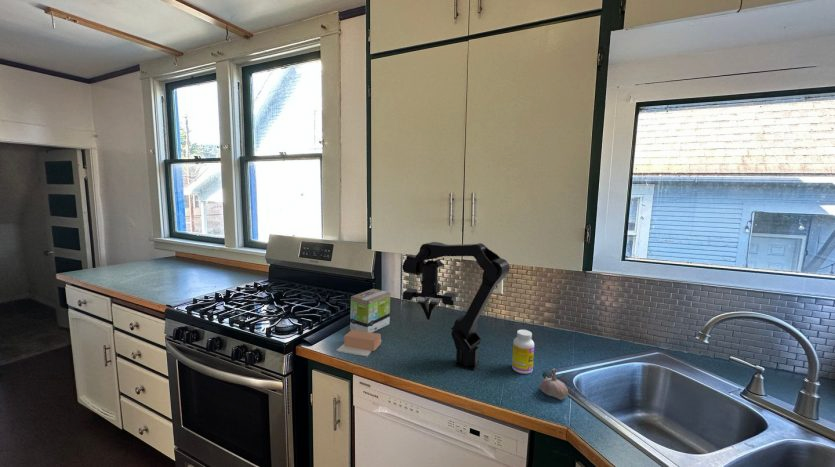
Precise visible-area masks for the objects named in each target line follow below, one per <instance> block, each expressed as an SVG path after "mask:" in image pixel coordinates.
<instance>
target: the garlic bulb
mask: <svg viewBox="0 0 835 467" xmlns="http://www.w3.org/2000/svg"><path fill="white" fill-rule="evenodd" d="M551 374H552V375H551V377H546V378H543V379H542V381H541V383H539V384H540V385H539V388H540V391H541V392H543V393H544V394H545V395H547V396H549V397H554V398H556V399H558V400H561V401H562V400H564V399H566V398H567V397H568V396H569V390H568V387H567V386H566V384H565V383H564V381H563V382H562V381H561V380H560V379H557V374H556V368H555V367H554V368H552V370H551Z"/></svg>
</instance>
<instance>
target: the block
mask: <svg viewBox="0 0 835 467" xmlns="http://www.w3.org/2000/svg"><path fill="white" fill-rule="evenodd" d="M381 334H382V333H376V332H372V333H371V332H364V331H358V330H349V332H347V333H345V335H344V337H343V340H344V341H343V342H344V343H343V344H344V346H346V347H352V348H358V349H364V350H370V351H372V352H375V351H376V350H377V348H378V347H380V345H381V342H382V341H381V340H382V338H381Z"/></svg>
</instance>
